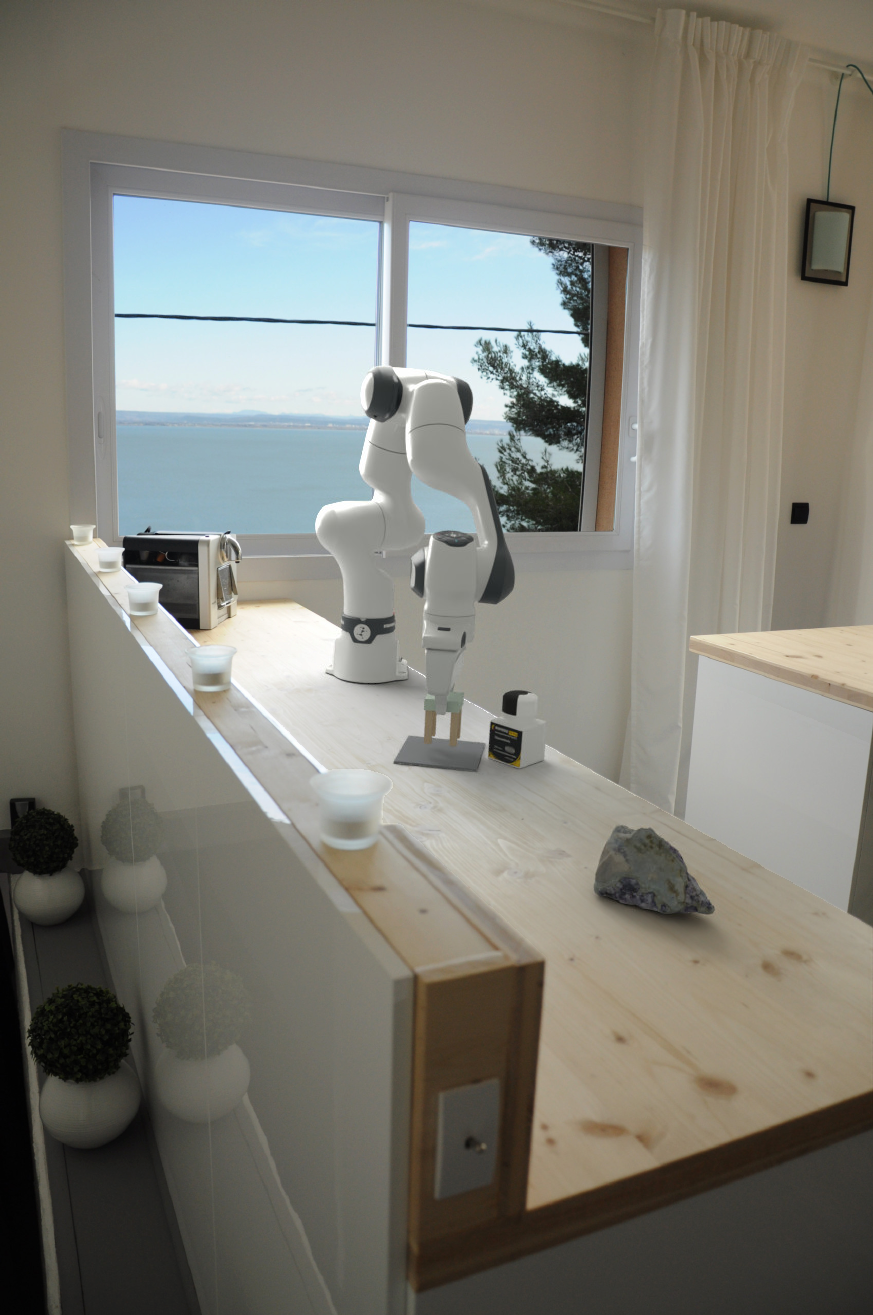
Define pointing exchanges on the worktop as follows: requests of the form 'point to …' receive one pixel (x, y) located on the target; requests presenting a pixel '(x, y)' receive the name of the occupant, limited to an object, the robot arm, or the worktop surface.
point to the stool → (453, 706)
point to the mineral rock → (648, 874)
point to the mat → (441, 753)
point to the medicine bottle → (517, 731)
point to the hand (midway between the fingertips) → (444, 707)
